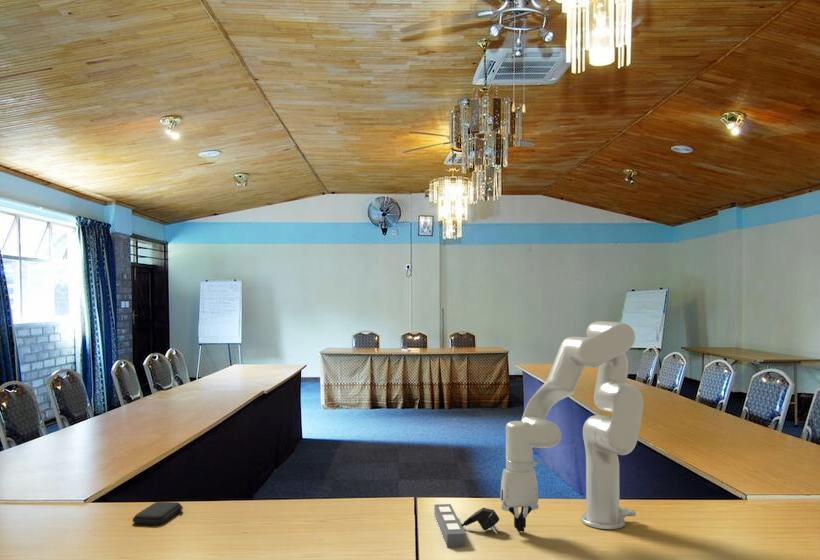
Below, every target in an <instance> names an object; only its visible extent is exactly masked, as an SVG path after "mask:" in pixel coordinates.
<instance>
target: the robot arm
mask: <svg viewBox="0 0 820 560" xmlns="http://www.w3.org/2000/svg"><path fill="white" fill-rule="evenodd" d="M635 334H636V332H635V331H634V329H633V327H631V325H630V324H627V323H624V322H617V321H607V320H606V321H605V320H603V321H602V320H601V321H600V320H598V321H593V322H591V323H590V324H589V325H588V327H587V329H586V337H584V336H569V337H566V338H565V339H563V341H561V344H560V346H559V348H558V351H557V353H556V355H555V358H554V361H553V363H552V366H551V369H550V371H549V373H548V376H547V378H546V380H545V382H544V383H543V384H542V385H541V386H540V387H539V388H538V389H537V390H536V392H535V393H534V394H533V395H532V396H531V398H530V399H529V401H528V402H527V404H526V406H525V409H524V411H523V414H522V416H521V420H512V421H508V422H507V423H506V425H505V468H503V469H502V473H501V481H500V501H501V505H500V508H501V510H502V511H505V512H510V514H511V515H513V526H514V528H515V529H516V530H517V532H518V533H521V532H522V533H524V532H525V528H527V524H526V523H527V522H526V521H527V517H528V515H529V514H530V512H532V511H535V510H538V509H539V507H540V506H539V491H538V490H539V487H538V481H537V475H536V470H535V469H534V467H535V466H538V461H537V460H534V459H533V448H541V449H551V448H553V447H556V446H557V445H559V443H560V442H561V440H562V431H561V428H560V427H559V426H558V425H557V424H556V423H554V422H553V421H549V420H547V419H546V417H547V416H548V413H549V412H550V410H551V409H552V407H553V406H554V405H556V404H557V403H558V402H560V401H561V400H564V399H565V398H568V397H570V396H572V395H573V394H574V393H575V391H576V388H577V386H578V383H579V381H580V378H581V376H582V373H583V370H584V368H585V367H586V368H596V367H598V371H597V376H596V381H595V388H594V392H593V403H594V405H595V406H596V408H598V409H599V410H601V411H603V412H606V413H609V414H611V416H610V417H609V416H606V415H603V414H595V415H591V416H589V417H588V418H587V419H586V420H585V421H584V424H583V427H582V438H583V443H584V450H585V490H586V492H585V493H586V494H585V499H586V500H585V501H586V502H585V505H586V507H585V509H586V512H583V513H582V514H581V515H580V521H581V522H582V523H583V524H585V525H586V526H588V527H592V528H595V529H600V530H618V529H622V528H623V527H625V526H626V520H625V518H626V517H629V518H630V517H636V513H637V512H636V510H635V509H628V508H627V507H621V506H620V461H619V456H626V455H628V454H631V453H632V452H633V450H634V449H635V447H636V445H637V443H638V439H639V434H640V430H641V423H642V420H643V419H642V418H643V411H644V397H643V394H642V393H641V391H640V390H639V388H638V387H636V386H635V385H633V384H630V383H627V382H628V373H629V359H628V356H627V354H626V352H628V351H629V350H630V349H631V348H632V347H633V346H634V344H635V340H636V335H635ZM618 455H619V456H618ZM519 508H520V511H519Z"/></svg>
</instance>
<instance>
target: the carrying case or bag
mask: <svg viewBox="0 0 820 560" xmlns="http://www.w3.org/2000/svg"><path fill="white" fill-rule="evenodd" d="M183 509H184V506H182V504H181V503H180V502H173V501H169V502H168V501H156V502H154V503H152V504H151V505H149V506H147V507H145V508H144V509H142V510H141V511H139V512H138V513H136V514H135V516H134V517H132V522H133V523H134V524H135V525H141V526H161V525H162V524H164V523H165V522H167V521H168V520H170V519H171V518H173V517H174V516H175V515H176V514H178V513H179V512H180V513H182V512H183Z"/></svg>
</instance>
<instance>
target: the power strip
mask: <svg viewBox="0 0 820 560" xmlns="http://www.w3.org/2000/svg"><path fill="white" fill-rule="evenodd" d="M433 505H434V506H433V508H434V509H433V510H434V515H435V516H434V518H435V517H436V519H435V521H436V520H437V521H436V523H437V522H438V524H437V526H438V525H439V526H438V528H439V527H440V529H439V531H440V530H441V531H440V533H441V532H442V533H441V536H442V535H443V536H442V539H443V541H444V540H445V541H444V543H445V542H446V543H445V545H447V546H446V548H463V547H464V548H465V547H466V541H467V540H466V532H465V530H464V527H462V526H461V525H462V524H461V522H460V520H459V518H458V515H457V514H456V512H455V509H454V508H453V506H452V505H451V503H443V504H442V503H441V504H439V503H438V504H433Z"/></svg>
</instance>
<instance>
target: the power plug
mask: <svg viewBox="0 0 820 560" xmlns="http://www.w3.org/2000/svg"><path fill="white" fill-rule="evenodd" d="M500 519H501V518H500V517H499V516H498V514H497V513H496V511H495V510H494V509H492V508H491V509H490V508H487V507H482V508H480V509H479V510H477V511H475V512H474V513H473V514H471V515H470V516H469V517H468V518H466V520H464V521H463V522H462V524H461V526H462V528H464V527H468V526H469V525H472V524H474V523H475V522H478V524H479V526H480V527H481V528H482V530H483V531H487V530H489V529H491V530H492V532H493V534H495V535H498V531H499V529H498V527H497V525H496V524H498V522H499V521H500Z"/></svg>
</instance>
